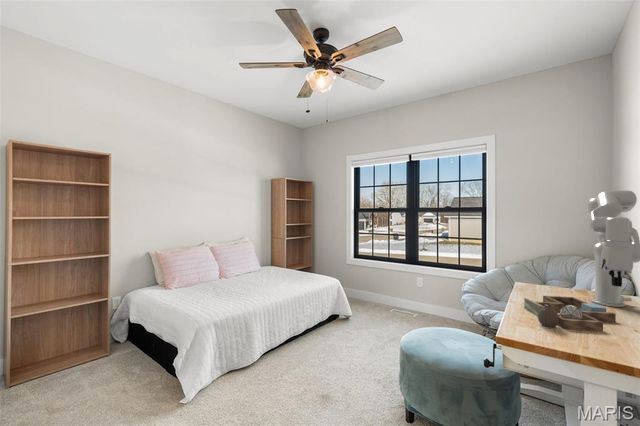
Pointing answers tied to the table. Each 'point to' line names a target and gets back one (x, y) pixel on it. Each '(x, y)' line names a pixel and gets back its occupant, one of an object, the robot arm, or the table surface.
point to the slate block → (592, 307)
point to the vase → (548, 316)
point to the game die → (571, 312)
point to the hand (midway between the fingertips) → (616, 285)
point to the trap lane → (589, 323)
